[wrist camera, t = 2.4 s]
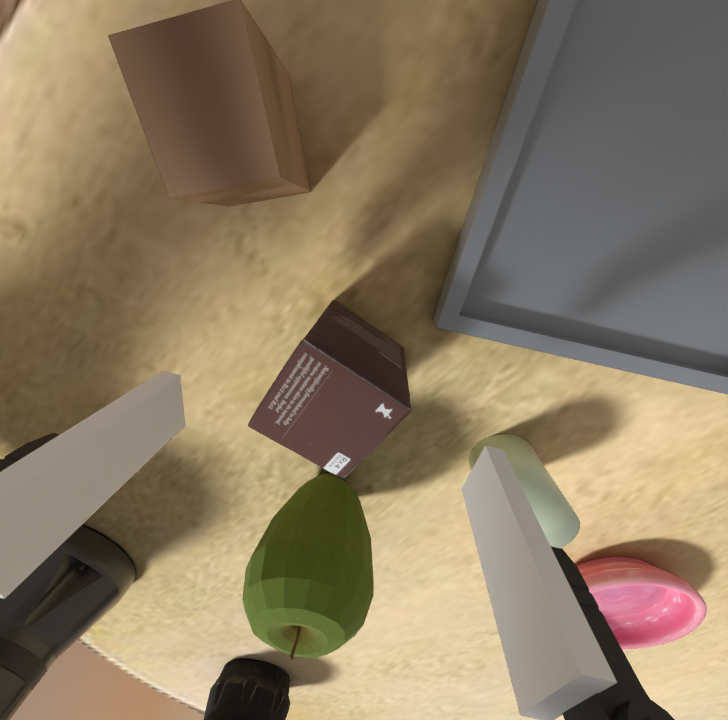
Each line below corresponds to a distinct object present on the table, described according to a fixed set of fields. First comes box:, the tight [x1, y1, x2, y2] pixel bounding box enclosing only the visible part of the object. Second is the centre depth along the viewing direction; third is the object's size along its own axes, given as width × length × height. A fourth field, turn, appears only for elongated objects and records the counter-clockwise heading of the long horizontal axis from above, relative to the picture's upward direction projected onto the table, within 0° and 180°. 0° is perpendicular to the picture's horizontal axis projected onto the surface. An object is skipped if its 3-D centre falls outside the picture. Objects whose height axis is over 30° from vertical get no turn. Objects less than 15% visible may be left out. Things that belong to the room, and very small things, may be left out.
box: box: [248, 300, 411, 478], centre depth 17 cm, size 6×6×7 cm
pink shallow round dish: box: [576, 557, 706, 649], centre depth 27 cm, size 12×12×3 cm
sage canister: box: [469, 434, 580, 548], centre depth 20 cm, size 5×5×6 cm
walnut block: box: [108, 0, 311, 206], centre depth 13 cm, size 5×5×5 cm
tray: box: [432, 0, 728, 394], centre depth 13 cm, size 20×20×2 cm
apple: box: [243, 473, 373, 660], centre depth 20 cm, size 9×8×12 cm
